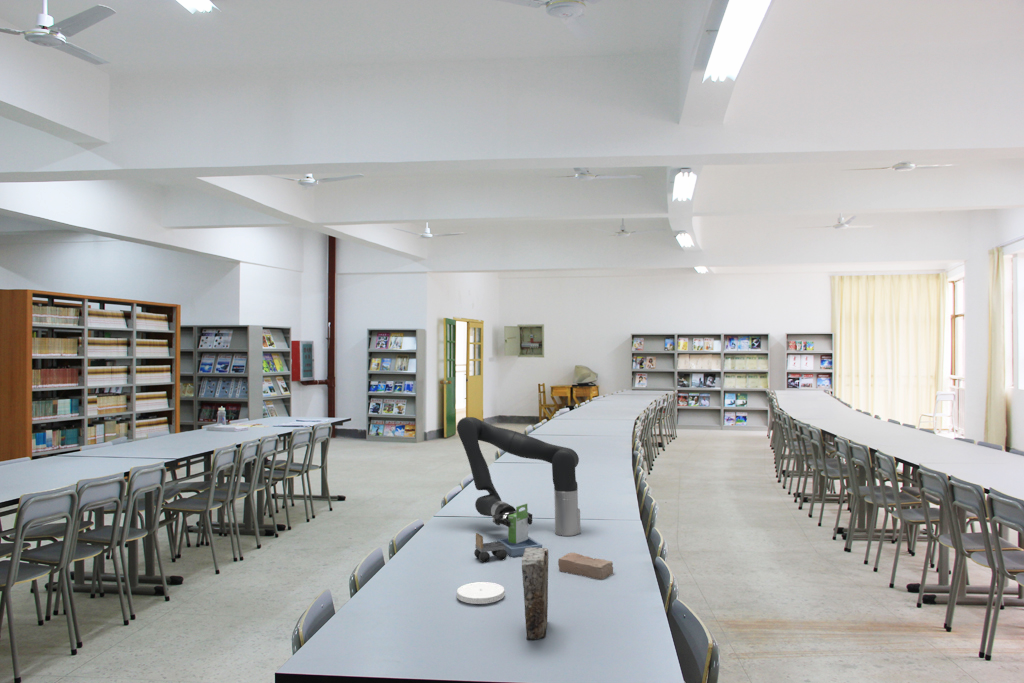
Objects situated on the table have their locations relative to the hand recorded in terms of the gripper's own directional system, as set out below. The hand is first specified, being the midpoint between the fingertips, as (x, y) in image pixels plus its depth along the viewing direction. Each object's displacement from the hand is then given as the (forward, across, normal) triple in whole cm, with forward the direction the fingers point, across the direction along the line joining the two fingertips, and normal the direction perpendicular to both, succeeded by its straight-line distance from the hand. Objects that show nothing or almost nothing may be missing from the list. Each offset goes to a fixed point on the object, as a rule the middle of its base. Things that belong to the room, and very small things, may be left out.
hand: (520, 522), depth 249 cm
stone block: (+66, -24, +10) cm, 71 cm away
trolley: (+3, -13, +10) cm, 17 cm away
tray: (-2, 0, +10) cm, 11 cm away
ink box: (-2, 0, +7) cm, 8 cm away
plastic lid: (+38, -29, +10) cm, 48 cm away
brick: (+30, +10, +10) cm, 34 cm away
